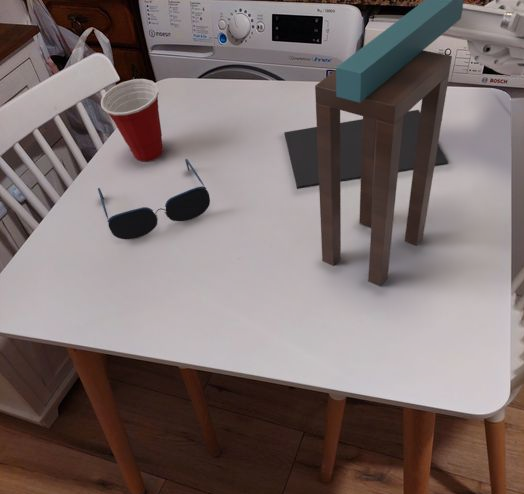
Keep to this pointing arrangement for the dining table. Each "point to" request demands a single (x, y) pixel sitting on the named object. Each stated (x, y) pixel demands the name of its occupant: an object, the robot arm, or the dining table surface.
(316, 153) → the mat
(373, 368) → the dining table surface
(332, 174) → the stand
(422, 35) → the rail
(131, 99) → the plastic cup
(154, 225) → the sunglasses
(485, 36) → the robot arm
